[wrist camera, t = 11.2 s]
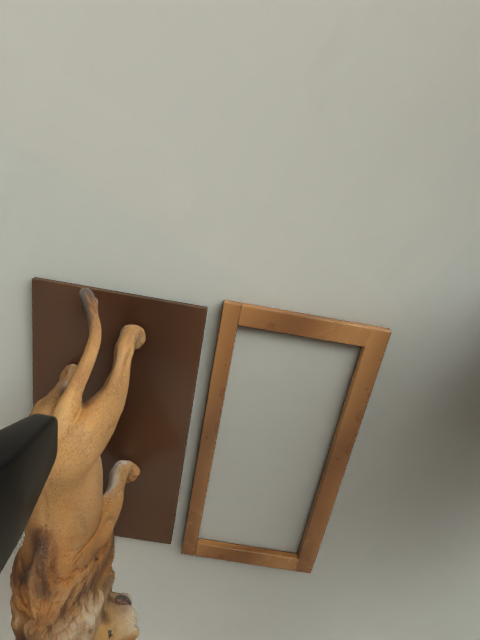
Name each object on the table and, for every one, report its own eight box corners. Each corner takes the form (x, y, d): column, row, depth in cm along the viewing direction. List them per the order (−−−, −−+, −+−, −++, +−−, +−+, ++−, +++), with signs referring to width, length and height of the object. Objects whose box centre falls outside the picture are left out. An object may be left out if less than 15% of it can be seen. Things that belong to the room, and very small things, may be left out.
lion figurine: (168, 528, 25) (126, 719, 17) (77, 526, 25) (-10, 715, 17) (144, 283, 20) (62, 387, 11) (27, 283, 20) (-138, 386, 11)
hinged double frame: (389, 328, 20) (391, 331, 20) (309, 567, 26) (310, 573, 26) (34, 266, 20) (30, 268, 19) (36, 525, 26) (33, 531, 25)
